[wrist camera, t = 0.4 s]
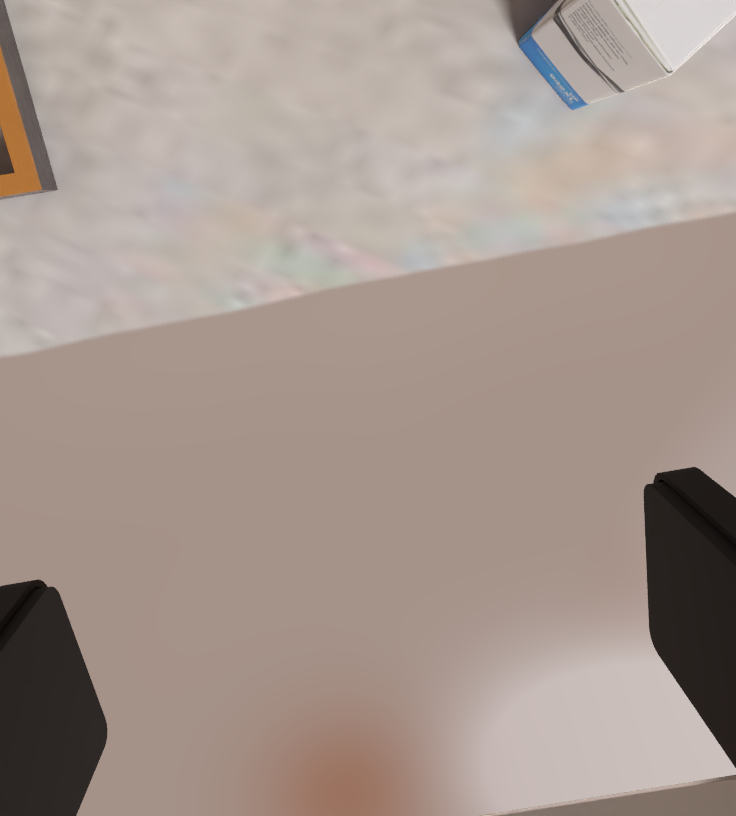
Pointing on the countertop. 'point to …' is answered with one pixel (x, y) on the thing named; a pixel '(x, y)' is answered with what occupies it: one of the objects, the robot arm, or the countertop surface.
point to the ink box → (618, 43)
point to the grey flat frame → (20, 124)
